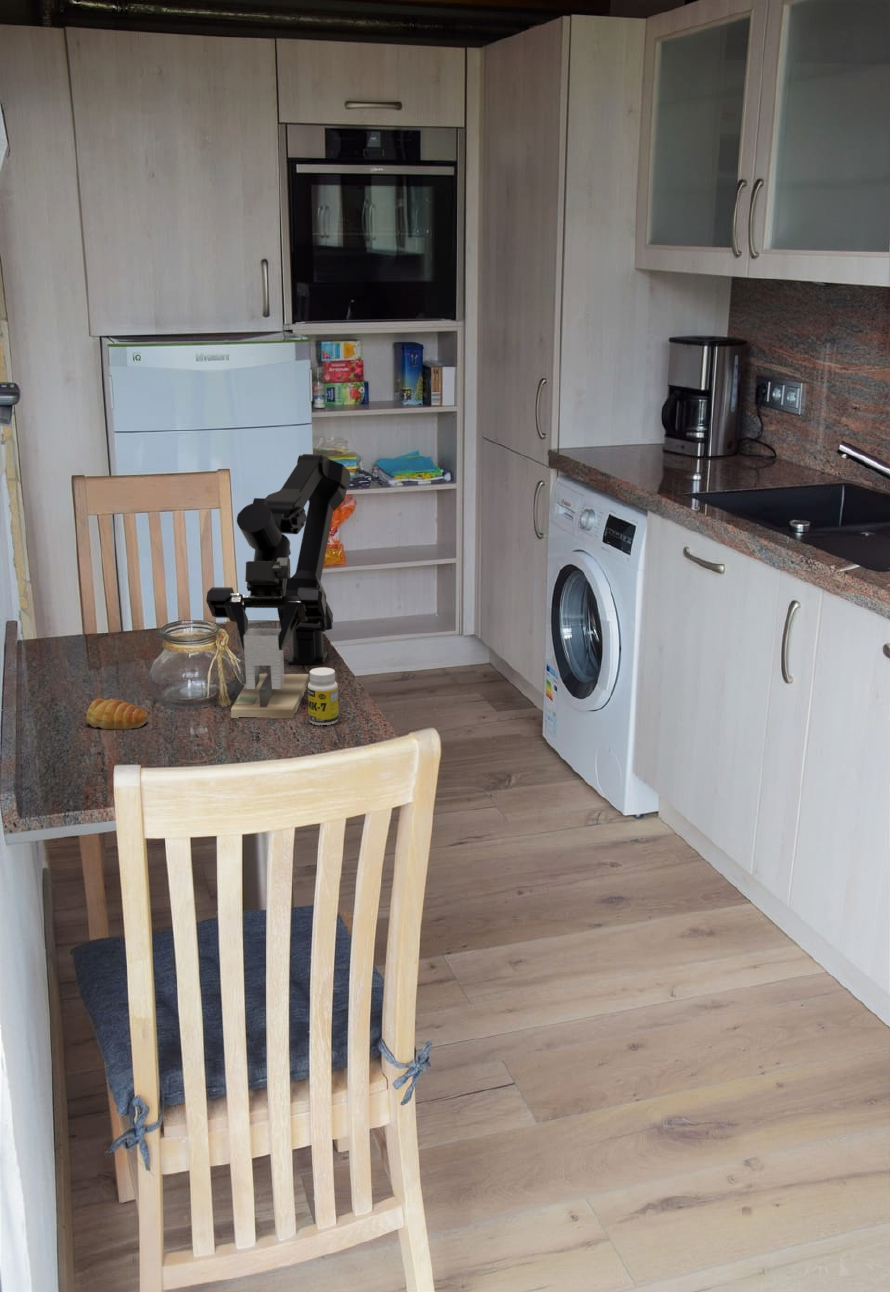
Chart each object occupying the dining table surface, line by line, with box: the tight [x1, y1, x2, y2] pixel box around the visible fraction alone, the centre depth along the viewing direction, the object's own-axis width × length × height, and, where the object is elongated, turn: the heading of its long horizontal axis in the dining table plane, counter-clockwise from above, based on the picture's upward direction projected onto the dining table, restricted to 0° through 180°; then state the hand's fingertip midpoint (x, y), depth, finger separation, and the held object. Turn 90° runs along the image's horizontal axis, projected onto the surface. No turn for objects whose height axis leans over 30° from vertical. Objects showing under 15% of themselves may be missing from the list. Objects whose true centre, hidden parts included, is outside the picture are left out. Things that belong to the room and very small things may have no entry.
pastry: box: [85, 698, 149, 730], centre depth 188 cm, size 9×7×4 cm
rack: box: [230, 668, 310, 719], centre depth 198 cm, size 18×10×4 cm, turn 178°
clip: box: [243, 627, 285, 689], centre depth 192 cm, size 4×6×9 cm
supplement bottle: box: [307, 667, 339, 727], centre depth 188 cm, size 5×5×8 cm
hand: (262, 648), depth 190 cm, fingers closed on clip, 5 cm apart
